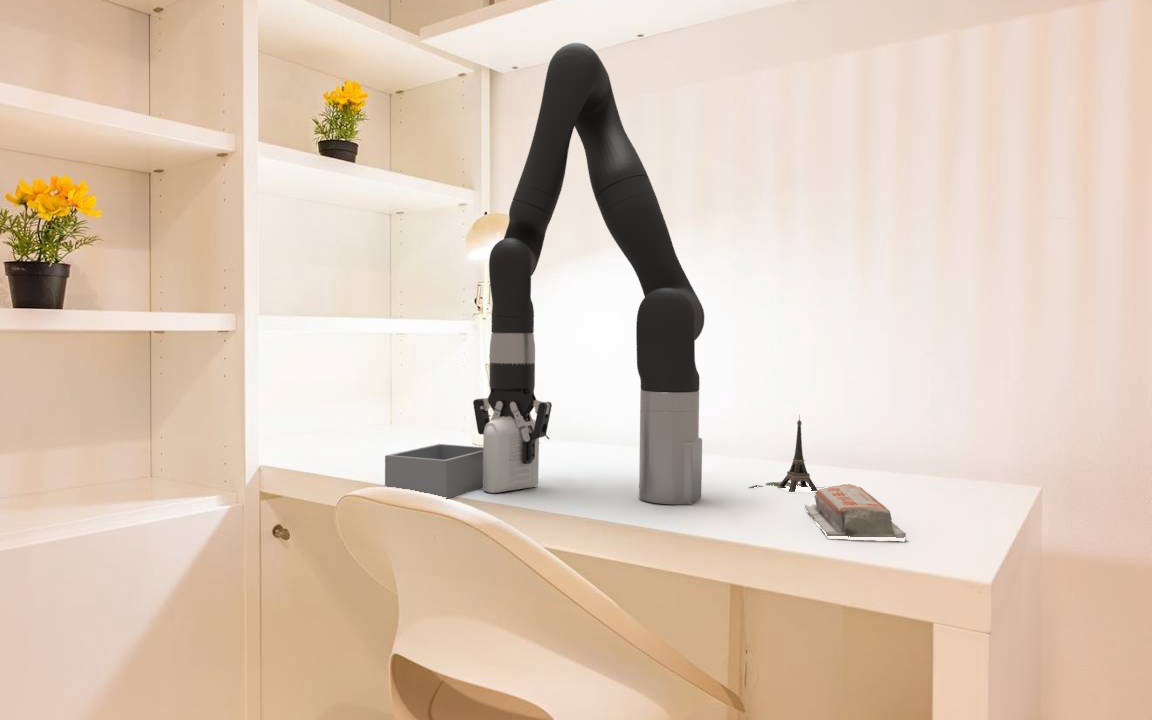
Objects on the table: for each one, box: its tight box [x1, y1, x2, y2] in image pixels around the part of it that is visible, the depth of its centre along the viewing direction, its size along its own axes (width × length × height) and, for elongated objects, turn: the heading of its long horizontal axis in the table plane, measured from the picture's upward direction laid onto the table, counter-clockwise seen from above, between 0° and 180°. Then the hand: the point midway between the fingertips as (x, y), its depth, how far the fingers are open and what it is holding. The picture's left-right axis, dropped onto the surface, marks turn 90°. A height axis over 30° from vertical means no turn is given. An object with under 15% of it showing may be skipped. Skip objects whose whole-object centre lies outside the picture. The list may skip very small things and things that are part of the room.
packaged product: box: [804, 483, 907, 538], centre depth 112 cm, size 18×5×10 cm
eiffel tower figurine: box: [748, 414, 818, 493], centre depth 137 cm, size 15×10×13 cm
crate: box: [384, 443, 483, 499], centre depth 135 cm, size 12×16×6 cm
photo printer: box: [482, 416, 540, 494], centre depth 134 cm, size 10×4×12 cm, turn 135°
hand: (511, 461), depth 134 cm, fingers closed on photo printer, 5 cm apart
